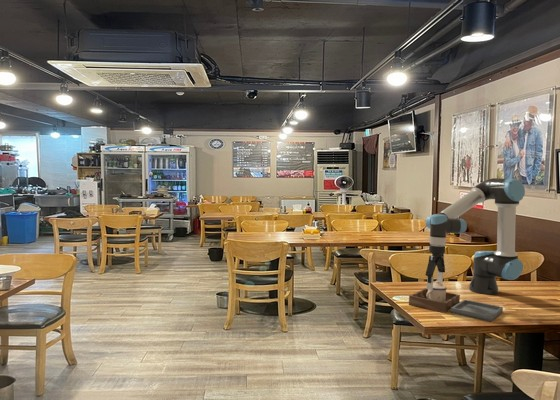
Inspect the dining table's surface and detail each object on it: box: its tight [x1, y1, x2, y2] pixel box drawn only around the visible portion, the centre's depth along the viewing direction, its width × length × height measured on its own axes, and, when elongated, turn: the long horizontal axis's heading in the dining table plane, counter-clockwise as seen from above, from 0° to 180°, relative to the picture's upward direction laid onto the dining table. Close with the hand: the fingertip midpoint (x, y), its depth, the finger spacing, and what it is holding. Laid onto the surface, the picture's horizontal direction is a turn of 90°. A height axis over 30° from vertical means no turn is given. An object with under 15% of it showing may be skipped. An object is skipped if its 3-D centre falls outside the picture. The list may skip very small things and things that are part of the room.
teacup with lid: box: [425, 280, 448, 302], centre depth 216 cm, size 12×9×12 cm
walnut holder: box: [408, 287, 461, 314], centre depth 217 cm, size 21×18×4 cm
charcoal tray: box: [450, 299, 504, 323], centre depth 205 cm, size 20×18×2 cm
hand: (434, 286), depth 216 cm, fingers open, 13 cm apart
